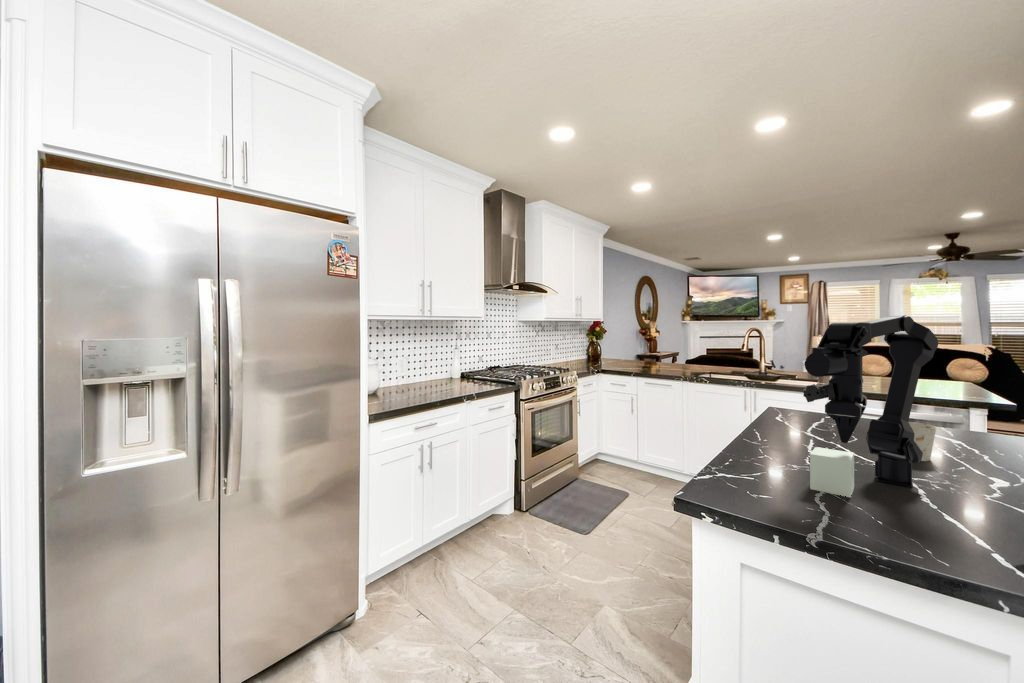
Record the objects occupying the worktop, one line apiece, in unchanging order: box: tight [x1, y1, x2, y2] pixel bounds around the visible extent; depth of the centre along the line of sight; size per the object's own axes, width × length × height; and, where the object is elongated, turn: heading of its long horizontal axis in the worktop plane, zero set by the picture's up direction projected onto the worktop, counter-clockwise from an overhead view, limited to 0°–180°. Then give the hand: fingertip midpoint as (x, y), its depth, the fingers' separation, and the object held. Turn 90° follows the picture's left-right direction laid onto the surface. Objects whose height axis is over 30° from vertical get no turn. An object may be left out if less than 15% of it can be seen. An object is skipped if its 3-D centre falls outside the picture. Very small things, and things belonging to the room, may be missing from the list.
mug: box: [908, 421, 937, 462], centre depth 119 cm, size 8×13×10 cm, turn 78°
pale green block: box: [809, 446, 855, 498], centre depth 99 cm, size 8×8×9 cm
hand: (846, 438), depth 97 cm, fingers open, 9 cm apart
